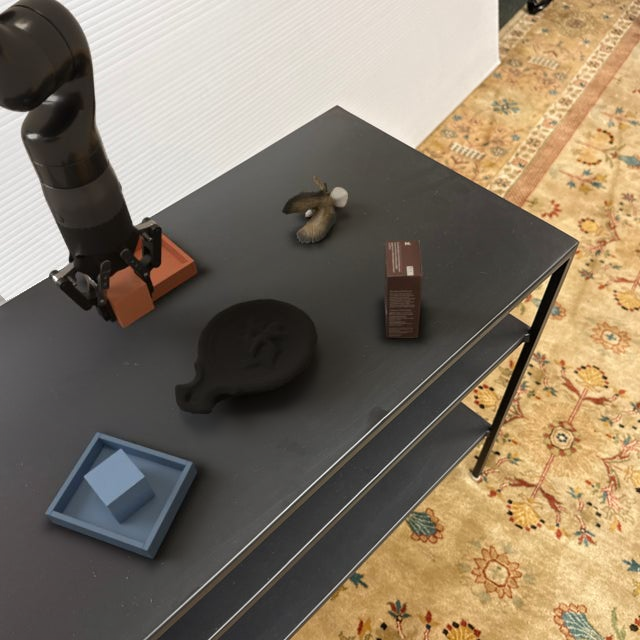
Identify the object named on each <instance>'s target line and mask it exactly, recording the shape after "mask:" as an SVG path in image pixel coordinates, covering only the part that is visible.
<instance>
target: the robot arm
mask: <svg viewBox="0 0 640 640" xmlns="http://www.w3.org/2000/svg"><path fill="white" fill-rule="evenodd" d="M96 101H97V99H96V87H95V75H94V64H93V57H92V51H91V47H90V44H89V42H88V39H87V35H86V33H85V32H84V30H83V28H82V25H81V24H80V22H79V21H78V20H77V18H76V17H75V16H74V15H73V13H72V12H71V10H69V8H67V7H66V6H65V5H64V4H62V3H61V2H60V1H59V0H18V1H16V2H15V3H13V4H12V5H11V6H9V7H7V8H6V9H5V10H3V11H2V12H0V108H3V109H5V110H7V111H10V112H16V113H27V114H26V116H25V118H24V119H23V121H22V124H21V126H20V138H21V142H22V144H23V147H24V150H25V152H26V154H27V156H28V158H29V160H30V163H31V165H32V167H33V169H34V171H35V174H36V176H37V178H38V180H39V183H40V187H41V191H42V194H43V197H44V199H45V203H46V204H47V206H48V208H49V211H50V213H51V215H52V217H53V219H54V221H55V224H56V227H57V228H58V230H59V233H60V235H61V236H62V237H61V238H62V239H63V241H64V244H65V245H66V248H67V250H68V263H67V265H65V266H64V267H63V268H61V270H60V271H59V270H58V269H52V270H50V272H49V274H48V278H49V279H50V280H51V281H52V282H53V284H55V285H56V286H57V287H58V288H59V289H60V290H61V292H63V293H64V294H65V295H66V296H67V297H68V298H69V299H71V300H72V301H73V302H74V303H75V304H76V305H77V306H78V307H79V308H81V309H82V310H83V311H85V312H88V311H90V310H91V309H93V307H95V310H96V311H97V314H98V315H99V316H100V317H101V318H102V319H103V320H104V321H105V322H109V321H110V322H111V324H113V323H115V322H117V321H116V320H117V318H116V316H115V313H114V311H113V309H112V306H111V304H110V302H109V301H108V300H107V290H108V289H109V288H110V277H112V276H113V275H114V274H115V273H116V272H118V271H120V270H123V269H125V268H127V267H128V266H130V267H131V268H132V269H133V270H134V273H135V274H136V275H137V276H138V277H140V278H141V279H142V280H143V281H144V282H145V283H146V285H147V288H148V290H149V293H150V296H151V298H152V294H151V293H153V292H154V287H153V284H152V281H151V278H150V272H151V270H152V269H153V268H158V267H159V266H160V265H161V254H162V234H163V229H162V227H161V226H160V225H159V224H157V223H156V222H155V221H154V220H153V219H152V218H150V217H149V216H146V217H143V219H142V220H141V223H140V224H136V225H135V224H134V223H133V220H132V217H131V214H130V211H129V208H128V205H127V202H126V199H125V196H124V192H123V186H122V183H121V182H120V181H119V178H118V175H117V173H116V171H115V169H114V167H113V165H112V164H111V162H110V161H111V160H110V159H109V157H108V154H107V151H106V147H105V145H104V143H103V139H102V137H101V133H100V131H99V128H98V125H97V103H96ZM140 237H141V238H142V258H141V259H140V260H138V259H137V258H136V257H135V256H134V253H135V250H136V247H137V244H138V241H139V238H140ZM77 273H81V274H82V275H84V274H85V276H84V278H85V281H86V280H87V281H86V284H87V285H86V287H87V288H86V289H87V291H84V292H82V291H81V290H80V289H79V288H77V286H78V283H77V282H78V279H77V277H76V275H77Z"/></svg>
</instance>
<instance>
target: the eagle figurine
mask: <svg viewBox="0 0 640 640" xmlns="http://www.w3.org/2000/svg"><path fill="white" fill-rule="evenodd" d="M313 181H314V183H315V184H316V185H317V187H318V188H319V190H317V191H313V190H312V191H300V192H298V193H296V194H294V195H293V196H291V197H290V198H288V199H287V201H285V203H284V204H283V206H282V209H281V212H282V214H284V215H285V216H286V215H291V214H299V213H301V214H302V213H304V212H305V216H304V218H310V217H311V218H310V219H309V220H308V221H307V222H306V224H305V225H304V226H303V227H301V228H300V229H299V230H298V231H297V232H296V233H295V234H296V239H298V242H299V243H301V244H311V243H313V244H314V243H316V242H320V241H322V239H324V238H325V237H326V236H327V233H328V232H329V231H330V229H331V227H332V226H333V225H334V224H335V223H336V221H337V218H338V216H337V213H336V210H335V207H337V208H344V207H345V206H346V205H347V202H348V200H349V192H347V190H346V189H345V188H343V187H341V186H334V188H333V189H332V190H331V191H328V184H327V182H326V181H324V182H322V183H321V182H320V181H319V179H318V177H317V176H316V175H313Z"/></svg>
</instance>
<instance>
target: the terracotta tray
mask: <svg viewBox="0 0 640 640" xmlns="http://www.w3.org/2000/svg"><path fill="white" fill-rule="evenodd" d="M134 256H135V257H136V258H137V259H138V260H140V259H141V258H142V238H141V237H140V238H139V241H138V244H137V247H136V250H135V253H134ZM128 267H129V268H130V269H131V270H132V271H133V272H134V270H133V269H132V268H131V267H130V266H128ZM198 272H199V271H198V269H197V266H196V262H195V260H194V259H193V258H191V257H190V256H189V255H188V254H187V253H186V252H185V251H184V250H182V249H181V248H180V247H179V246H178V245H176V244H175V243H174V242H173V241H171V239H169V238H168V237H167V236H165V235H164V233H162V254H161V265H160V266H159V267H158V268H153V269H152V270H151V272H150V278H151V281H152V284H153V287H154V292H153V293H151V294H152V298H151V299H152V302H153V303H154V302H155V301H156V300H158V299H160V298H162V296H164V295H166V294H167V293H169V292H171V291H172V290H174V289H175V288H177V287H178V286H180V285H181V284H183V283H184V282H187V281H188V280H189V279H191V278H192V277H194V276H195V275H197V274H198ZM83 277H85V274H83ZM85 281H86V282H87V280H86V279H85Z"/></svg>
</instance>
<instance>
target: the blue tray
mask: <svg viewBox="0 0 640 640" xmlns="http://www.w3.org/2000/svg"><path fill="white" fill-rule="evenodd" d="M119 449H122V450H123V451H124V452H125V453H126V455H127V456H128V457H129V458H130V459H131V461H132V462H133V463H134V464H135V465H136V466H137V468H138V469H139V470H140V471H141V472H142V473H143V475H144V476H145V477H146V479H147V481H148V483H149V485H150V486H151V488H152V490H153V492H154V493H155V496H154V497H153V498H151V499H150V500H149V501H148V502H146V503H145V504H144V505H143V506H141V507H140V508H139V509H138V510H136V511H135V512H134V513H133V514H131V515H130V516H129V517H128V518H126V519H125V520H124V521H123V522H121V523H120V524H119V523H118V521H117V520H116V519H115V518H114V516H113V515H112V514H111V512H110V511H109V510H108V509H107V507H106V506H105V505H104V503H103V502H102V501H101V500H100V498H99V497H98V496H97V494H96V493H95V492H94V490H93V489H92V488H91V486H90V485H89V483H88V482H87V481H86V479H85V478H84V476H85V475H86V474H87V473H89V472H90V471H91V470H93V469H94V468H95V467H97V466H98V465H99V464H101V463H102V462H103V461H105V460H106V459H107V458H109V457H110V456H111V455H113V454H114V453H115V452H117V451H118V450H119ZM197 474H198V471H197V468H196V467H195V464H194V462H193V461H190V460H187V459H184V458H181V457H178V456H174V455H172V454H168V453H165V452H162V451H159V450H155V449H153V448H149V447H146V446H143V445H140V444H138V443H137V444H136V443H134V442H130V441H126V440H125V439H121V438H117V437H114V436H112V435H109V434H105V433H101V432H98V431H97V432H95V435H94V436H93V437H92V439H91V441H90V443H89V444H88V445H87V447H86V448H85V450H84V452H83V453H82V455H81V457H80V458H79V459H78V461H77V462H76V464H75V466H74V468H72V470H71V472H70V473H69V475H68V476H67V478H66V480H65V481H64V483H63V485H62V486H61V488H60V489H59V491H58V493H57V494H56V495H55V497H54V498H53V500H52V502H51V504H50V505H49V506H48V508H47V510H46V511H45V512H44V514H45V515H46V517H47V518H48V519H49V520H50V521H51V522H52V523H53V524H55V525H58V526H61V527H64V528H66V529H68V530H72V531H74V532H77V533H80V534H83V535H85V536H89V537H91V538H93V539H96V540H99V541H102V542H104V543H108V544H110V545H112V546H115V547H118V548H121V549H124V550H127V551H130V552H132V553H134V554H138V555H140V556H143V557H146V558H149V559H151V560H154V559H155V556H156V555H157V553H158V551H159V549H160V547H161V545H162V543H163V541H164V539H165V537H166V535H167V533H168V531H169V529H170V527H171V525H172V523H173V521H174V519H175V517H176V515H177V514H178V511H179V509H180V507H181V505H182V503H183V501H184V500H185V498H186V495H187V493H188V491H189V490H190V488H191V485H192V484H193V482H194V480H195V478H196V476H197Z"/></svg>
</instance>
